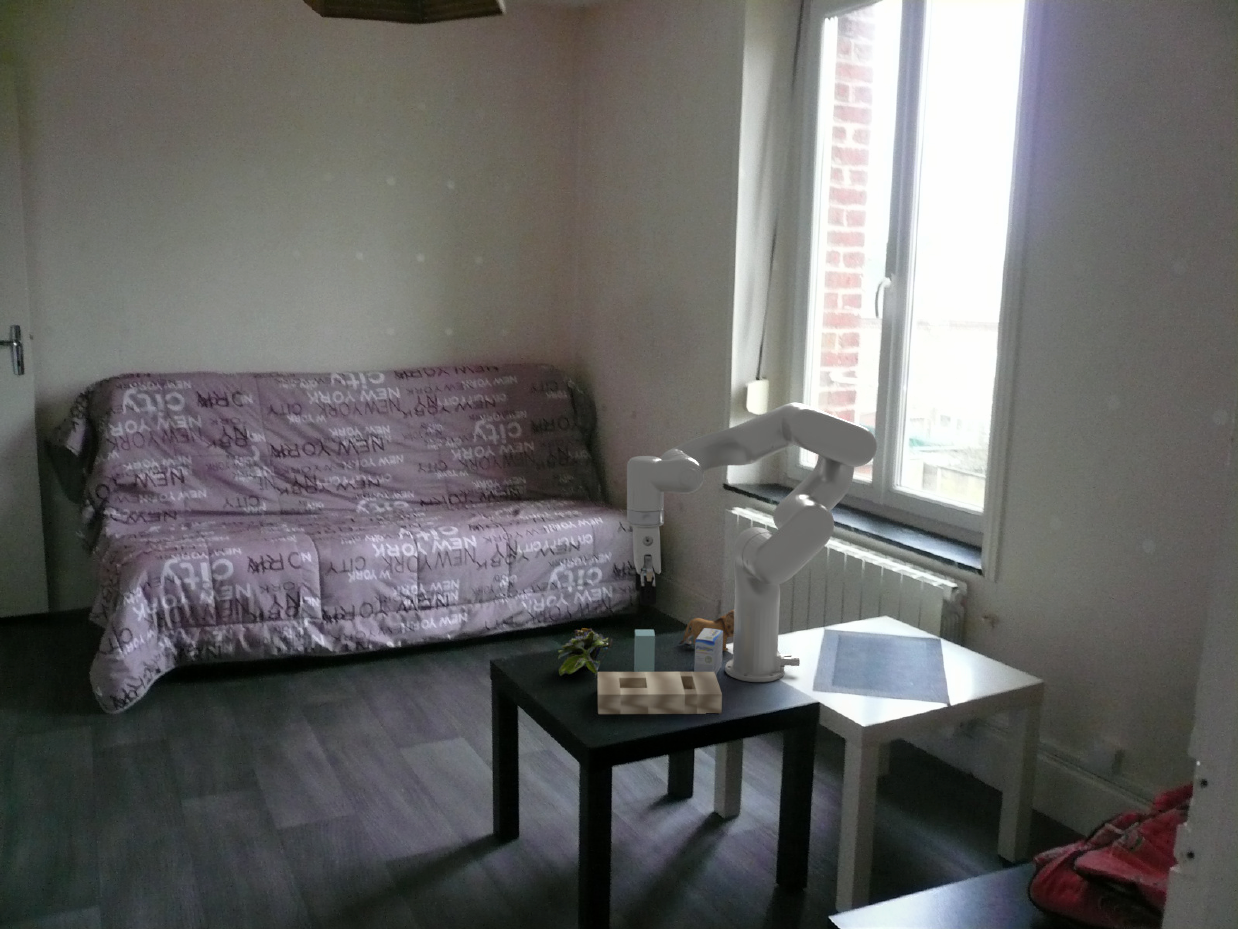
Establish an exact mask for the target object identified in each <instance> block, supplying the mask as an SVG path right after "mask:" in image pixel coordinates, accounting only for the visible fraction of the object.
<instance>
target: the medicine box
mask: <svg viewBox="0 0 1238 929" xmlns="http://www.w3.org/2000/svg"><path fill="white" fill-rule="evenodd" d="M722 649H723V631H722V630H717V629H710V628H704V629H703V630H702V632H700V634H699V636H698V637H697V638H696V640H695V645H694V668H693V670H694V671H693V672H715V675H716V676H717V675H718V673H719V671H720V670H721V668H722V666H723V650H722Z"/></svg>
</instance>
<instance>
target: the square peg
mask: <svg viewBox="0 0 1238 929" xmlns="http://www.w3.org/2000/svg"><path fill="white" fill-rule="evenodd" d="M655 646H656V635H655V630H654V629H634V656H633V658H634V661H633V662H634V663H633V665H634V668H633V669H634V670H633V672H655V655H656V654H655V652H656V651H655V650H656V647H655Z"/></svg>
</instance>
